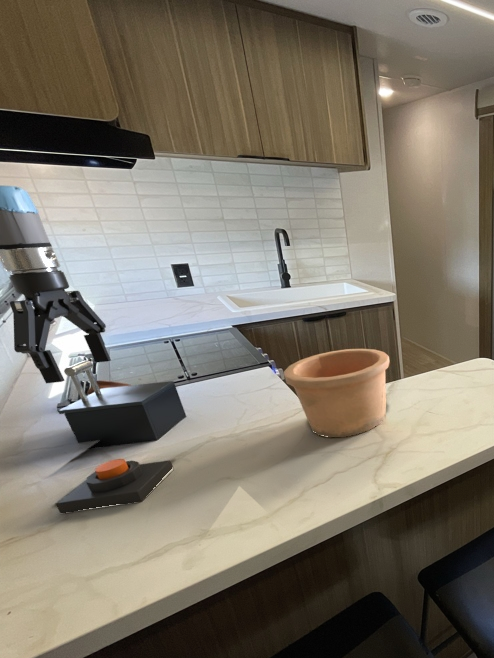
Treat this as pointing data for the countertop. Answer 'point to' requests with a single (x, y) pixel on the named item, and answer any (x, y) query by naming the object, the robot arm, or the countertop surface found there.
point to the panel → (115, 487)
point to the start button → (111, 468)
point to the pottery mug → (106, 385)
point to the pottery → (341, 390)
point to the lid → (109, 392)
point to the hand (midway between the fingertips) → (81, 371)
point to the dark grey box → (128, 421)
